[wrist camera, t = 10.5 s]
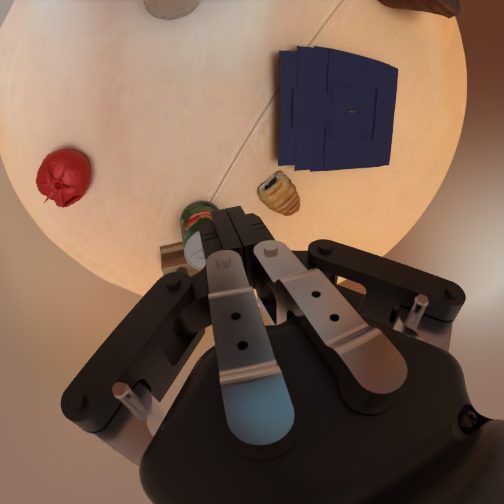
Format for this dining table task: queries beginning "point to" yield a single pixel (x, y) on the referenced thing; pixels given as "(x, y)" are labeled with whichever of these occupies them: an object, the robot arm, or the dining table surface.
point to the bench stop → (175, 260)
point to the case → (427, 6)
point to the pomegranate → (64, 177)
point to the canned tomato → (195, 231)
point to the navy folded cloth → (335, 110)
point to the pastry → (280, 194)
